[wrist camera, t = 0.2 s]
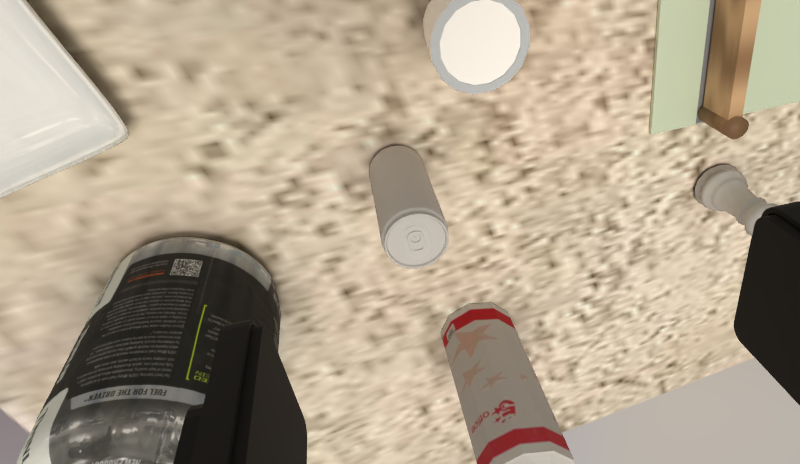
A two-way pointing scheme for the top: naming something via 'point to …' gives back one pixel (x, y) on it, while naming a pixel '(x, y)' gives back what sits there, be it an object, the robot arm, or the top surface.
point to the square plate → (46, 103)
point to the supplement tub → (149, 353)
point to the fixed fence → (730, 66)
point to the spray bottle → (500, 390)
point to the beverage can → (407, 208)
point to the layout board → (689, 56)
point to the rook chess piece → (730, 195)
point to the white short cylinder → (476, 42)
